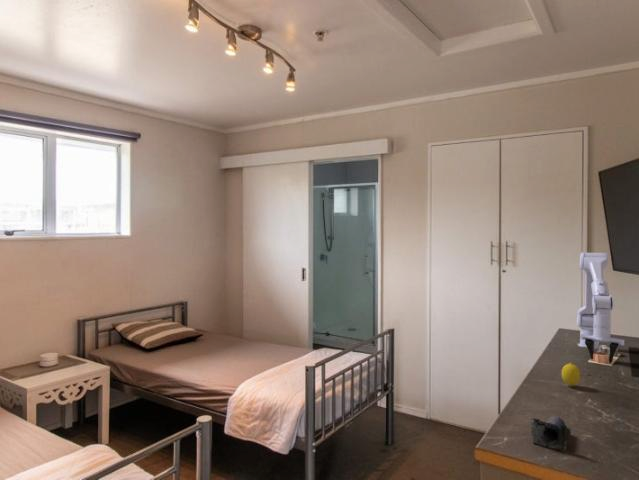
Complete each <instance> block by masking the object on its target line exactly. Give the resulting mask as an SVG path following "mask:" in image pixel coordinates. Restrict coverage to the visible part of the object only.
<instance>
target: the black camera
mask: <svg viewBox="0 0 639 480" xmlns="http://www.w3.org/2000/svg"><path fill="white" fill-rule="evenodd" d="M532 420H533V421H532ZM530 421H531V422H530V425H531V426H530V429H531V430H530V431H531V436H532V443H533V444H535V445H540V446H543V447H544V448H545V449H546V448H547V449H550V448H551V449H555V450H557V451H560V452H565V451H567V445H568V442H569V439H570V437H571V436H570V435H571V433H572V431H571V430H572V428H571V427H568V426H567V425H566V423H565V421H564V419H562V418H561V417H559V416H550V417H549V418H548V419H547V421H542V420H540V419H538V418H534V417H532V418H531V419H530ZM553 433H557V436H554V435H553Z"/></svg>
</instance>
